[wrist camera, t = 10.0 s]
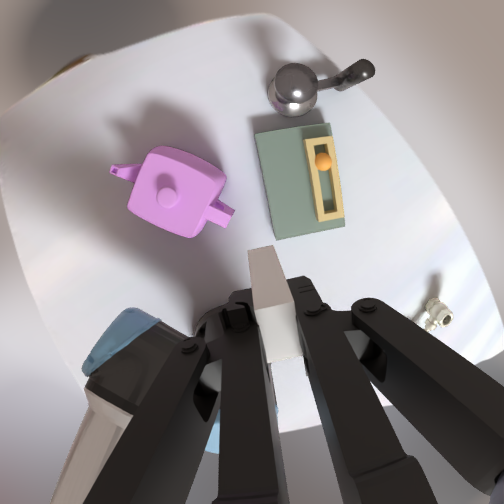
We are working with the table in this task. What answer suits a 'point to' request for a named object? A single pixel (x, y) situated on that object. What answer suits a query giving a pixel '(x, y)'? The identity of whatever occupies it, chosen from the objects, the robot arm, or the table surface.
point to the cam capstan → (310, 86)
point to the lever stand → (301, 179)
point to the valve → (437, 314)
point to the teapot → (176, 191)
